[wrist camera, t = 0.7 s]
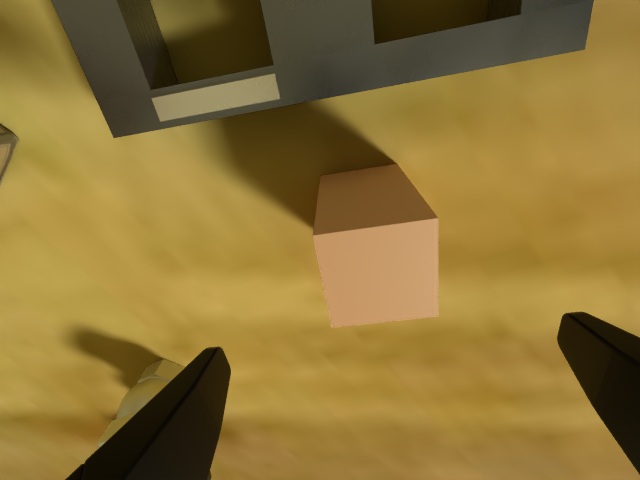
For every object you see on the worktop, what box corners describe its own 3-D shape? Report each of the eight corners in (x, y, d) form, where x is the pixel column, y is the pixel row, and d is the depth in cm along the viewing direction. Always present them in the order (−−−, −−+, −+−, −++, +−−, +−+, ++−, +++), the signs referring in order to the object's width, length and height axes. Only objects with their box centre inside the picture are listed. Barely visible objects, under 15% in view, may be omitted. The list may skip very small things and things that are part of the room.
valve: (125, 354, 26) (158, 439, 32) (66, 433, 21) (119, 520, 26) (202, 357, 26) (222, 441, 32) (164, 437, 20) (197, 524, 26)
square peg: (396, 163, 18) (438, 218, 11) (401, 232, 20) (438, 316, 13) (320, 175, 19) (312, 235, 11) (332, 241, 21) (331, 327, 13)
